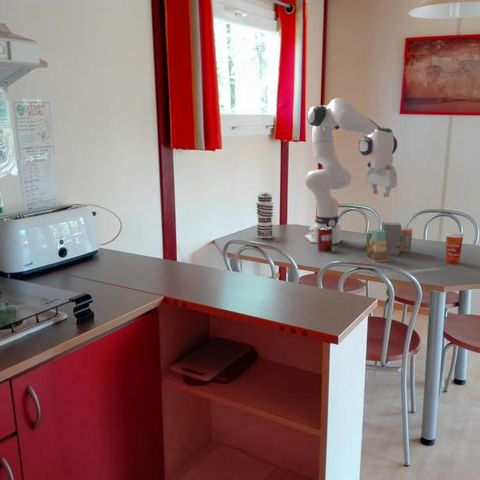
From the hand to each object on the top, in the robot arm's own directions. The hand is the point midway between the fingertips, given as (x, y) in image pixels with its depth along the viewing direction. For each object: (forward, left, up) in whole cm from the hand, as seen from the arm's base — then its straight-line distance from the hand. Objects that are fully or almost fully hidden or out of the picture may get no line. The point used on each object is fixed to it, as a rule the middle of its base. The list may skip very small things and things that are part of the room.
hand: (380, 195), depth 242 cm
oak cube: (0, 0, -26) cm, 26 cm away
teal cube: (0, 0, -21) cm, 21 cm away
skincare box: (-8, +12, -31) cm, 34 cm away
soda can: (-24, -15, -31) cm, 42 cm away
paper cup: (+13, +32, -31) cm, 46 cm away
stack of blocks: (-15, +15, -31) cm, 38 cm away
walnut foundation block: (0, 0, -30) cm, 30 cm away
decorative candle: (-64, -33, -31) cm, 79 cm away
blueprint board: (-1, 0, -31) cm, 31 cm away
